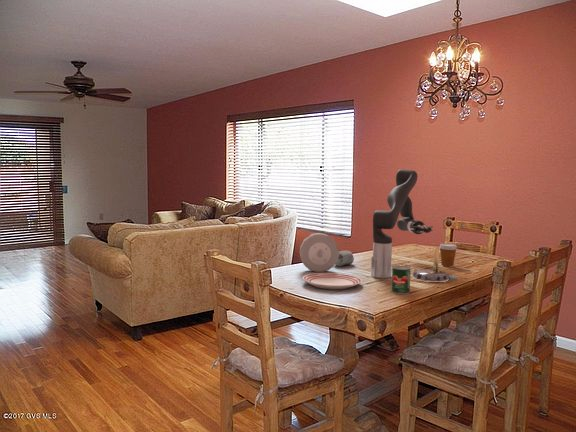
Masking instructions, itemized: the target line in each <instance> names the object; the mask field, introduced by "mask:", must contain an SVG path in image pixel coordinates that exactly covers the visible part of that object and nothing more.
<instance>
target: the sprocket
mask: <svg viewBox="0 0 576 432" xmlns="http://www.w3.org/2000/svg"><path fill="white" fill-rule="evenodd" d="M439 258H440V247H439V246H438V247H436V246H435V247H434V248H433V268H432V269H428V268H427V269H418V270H413V272H412V278H413V277H415V278H417V279H418V278H420V279H421V280H430V281H435V280H438V281H443V280H448V279H449V276H450V274H449V273H447V272H446V271H440V270H439V262H440V261H439V260H440V259H439Z"/></svg>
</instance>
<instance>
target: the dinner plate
mask: <svg viewBox="0 0 576 432" xmlns="http://www.w3.org/2000/svg"><path fill="white" fill-rule="evenodd" d="M302 280H303V281H304V282H305V283H307V284H309V285H312V286H314V287H316V288H320V289H324V290H326V289H327V290H344V289H345V290H346V289H350V288H351V287H355V286H357V285H359V284H361V283H362V282H363V280H362V278H360V277H358V276H355V275H350V274H345V273H336V272H313V273H308V274H305V275H303V276H302Z"/></svg>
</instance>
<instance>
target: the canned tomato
mask: <svg viewBox="0 0 576 432" xmlns="http://www.w3.org/2000/svg"><path fill="white" fill-rule="evenodd" d="M411 269H412V268H411V267H410V266H407V265H391V293H394V294H398V295H407V294H410V292H411Z"/></svg>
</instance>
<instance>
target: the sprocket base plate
mask: <svg viewBox="0 0 576 432" xmlns="http://www.w3.org/2000/svg"><path fill="white" fill-rule="evenodd" d="M412 279H413V280H415V281H417V280H418V282H422V281H423V282H422V283H428V282H444V283H447V282H446V281H448V280H450V279H449V278H448V280H443V281H438V280H435V281H430V280H421V279H420V278H418V279H417V278H415V277H413V276H412ZM448 282H449V281H448Z"/></svg>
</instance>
